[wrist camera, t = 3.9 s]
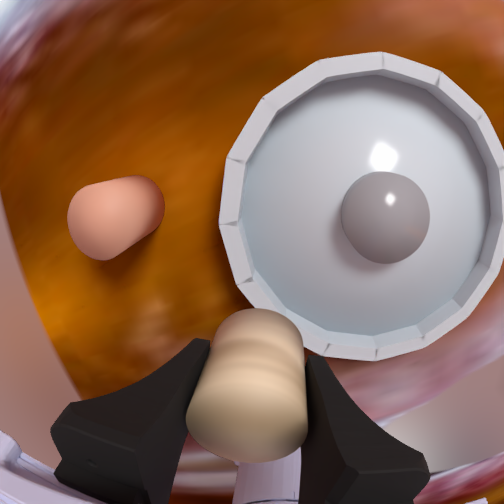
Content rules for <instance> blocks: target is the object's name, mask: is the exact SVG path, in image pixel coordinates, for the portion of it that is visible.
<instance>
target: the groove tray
mask: <svg viewBox="0 0 504 504" xmlns="http://www.w3.org/2000/svg"><path fill="white" fill-rule="evenodd" d="M227 157H229V158H226V165H225V173H224V181H223V190H222V198H221V206H220V215H219V228H220V231H221V235H222V238H223V242H224V245H225V249H226V252H227V255H228V259H229V262H230V266H231V269H232V272H233V276H234V279H235V282H236V285H237V287H238V288H239V289H240V290H241V292H242V293H243V294H244V295H245V296H246V298H247V299H248V300H249V301H250V303H251V304H252V305H253V306H254V307H255V308H261V309H268V310H272V311H275V312H278V313H280V314H282V315H284V316H285V317H287V318H288V319H290V320H291V321H292V322H293V323H294V324H295V325H296V327H297V328H298V330H299V331H300V333H301V336H302V339H303V346H304V347H306V348H308V349H310V350H311V351H313V352H315V353H317V354H319V355H321V356H322V355H323V356H326V357H335V358H344V359H354V360H366V361H378V360H382V359H386V358H390V357H394V356H397V355H401V354H405V353H408V352H412V351H415V350H418V349H422V348H425V347H427V346H428V345H430V344H431V343H433V342H434V341H436V340H437V339H438V338H440V337H441V336H443V335H444V334H446V333H447V332H448V331H450V330H451V329H453V328H454V327H455V326H457V325H458V324H459V323H461V322H462V321H463V320H465V319H466V318H467V316H469V315H470V314H471V312H472V311H473V310H474V308H475V307H476V306H477V304H478V303H479V301H480V300H481V299H482V297H483V296H484V294H485V293H486V292H487V290H488V289H489V287H490V286H491V284H492V283H493V281H494V280H495V278H496V277H497V275H498V273H499V271H500V268H501V264H502V261H503V258H504V151H503V148H502V146H501V144H500V142H499V139H498V137H497V135H496V133H495V131H494V129H493V127H492V125H491V123H490V121H489V119H488V117H487V115H486V113H485V112H484V110H483V109H482V108H481V107H480V106H479V105H478V104H477V103H476V102H475V101H473V100H472V99H471V98H470V97H469V96H468V95H467V94H466V93H465V92H464V91H463V90H462V89H461V88H460V87H458V86H457V85H456V84H455V83H454V82H453V81H452V80H451V79H449V78H448V77H447V76H446V75H445V74H444V73H442V72H440V71H439V70H436V69H434V68H431V67H428V66H426V65H423V64H420V63H417V62H414V61H411V60H408V59H405V58H402V57H398V56H395V55H392V54H388V53H385V52H373V53H364V54H356V55H348V56H341V57H334V58H328V59H322V60H319V61H316V62H314V63H313V64H311V65H310V66H308V67H307V68H305V69H304V70H302V71H300V72H299V73H297V74H296V75H294V76H293V77H291V78H290V79H288V80H287V81H285V82H284V83H283V84H281V85H280V86H278V87H277V88H275V89H274V90H272V91H271V92H270V93H268V94H267V95H265V96H264V97H263V99H261V100H260V102H259V103H258V105H257V107H256V108H255V110H254V112H253V113H252V115H251V117H250V118H249V120H248V122H247V123H246V125H245V127H244V128H243V130H242V132H241V133H240V135H239V137H238V138H237V140H236V142H235V143H234V145H233V147H232V149H231V150H230V152H229V154H228V156H227Z"/></svg>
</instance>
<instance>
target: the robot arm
mask: <svg viewBox="0 0 504 504" xmlns="http://www.w3.org/2000/svg"><path fill="white" fill-rule="evenodd" d="M209 350H210V341H209V340H204V339H198V338H195V339H194V340H192V341H191V342H190V343H189V344H188V345H187V346H186V347H185V348H184V349H183V350H181V351H180V352H179V353H178V354H177V355H176V356H174V357H173V358H172V359H171V360H170V361H168V362H167V363H166V364H164V365H163V366H162V367H160V368H159V369H157V370H156V371H154V372H153V373H152V374H150V375H148V376H147V377H145V378H143V379H142V380H140V381H138V382H136V383H134V384H132V385H130V386H127V387H125V388H123V389H120V390H118V391H116V392H113V393H110V394H107V395H104V396H100V397H97V398H93V399H88V400H83V401H78V402H71V403H70V404H69V405H68V406H67V407H66V408H65V409H64V410H63V412H62V413H61V415H60V416H59V417H58V418H57V420H56V421H55V423H54V424H53V425H52V427H51V431H50V433H51V436H52V439H53V441H54V443H55V445H56V447H57V449H58V451H59V453H60V455H61V457H62V460H61V462H60V463H59V465H58V467H57V468H56V470H54V469H52V468H50V467H48V466H47V465H45V464H43V463H41V462H39V461H37V460H35V459H34V458H32V457H30V456H28V455H27V454H25V453H23V452H22V450H21V448H20V446H19V444H18V443H17V442H16V441H15V440H14V439H13V438H12V437H11V436H9V435H8V434H6V433H5V432H3V431H1V430H0V504H168V502H169V497H170V493H171V489H172V485H173V481H174V477H175V474H176V470H177V466H178V462H179V459H180V455H181V452H182V448H183V445H184V442H185V439H186V436H187V434H188V432H189V430H188V428H187V425H186V413H187V410H188V407H189V405H190V402H191V399H192V396H193V394H194V391H195V388H196V386H197V383H198V380H199V377H200V375H201V372H202V369H203V367H204V364H205V361H206V358H207V356H208V353H209ZM305 378H306V396H307V417H308V433H307V437H306V439H305V441H304V443H303V444H302V445H301V446H300V447H299V448H298V449H297V450H296V451H295V452H293V453H292V454H290V455H288V456H286V457H284V458H281V459H278V460H275V461H270V462H263V463H245V462H237V461H234V464H235V465H237V466H239V467H238V473H237V479H236V485H235V491H234V496H233V502H232V504H414V503H413V499H414V498H415V497H416V496H417V495H418V494H419V493H420V492H421V490H422V489H423V488H424V487H425V486H426V484H427V483H428V482H429V480H430V472H429V469H428V466H427V462H426V460H425V458H424V455H423V453H421V452H419V451H417V450H414V449H413V448H411V447H409V446H407V445H405V444H403V443H402V442H400V441H399V440H397V439H396V438H394V437H392V436H391V435H389V434H388V433H387V432H385V431H384V430H383V429H382V428H380V427H379V426H378V425H377V424H376V423H374V422H373V421H372V420H371V419H370V418H369V417H368V416H367V415H366V414H365V413H364V412H363V411H362V410H361V409H360V408H359V407H358V406H357V405H356V404H355V403H354V401H353V400H352V399H351V398H350V396H349V395H348V394H347V392H346V391H345V390H344V388H343V387H342V385H341V384H340V383H339V381H338V380H337V378H336V377H335V375H334V373H333V372H332V370H331V369H330V367H329V365H328V364H327V362H326V360H325V359H324V357H323V356H314V355H308V358H307V362H306V366H305ZM465 504H488V503H487V501H486V498H482V499H478V500H475V501H472V502H468V503H465Z"/></svg>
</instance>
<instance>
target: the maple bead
mask: <svg viewBox="0 0 504 504" xmlns="http://www.w3.org/2000/svg"><path fill="white" fill-rule="evenodd" d="M186 425H187V428H188V430H189V432H190V434H191V436H192V437H193V438H194V439H195V441H196V442H197V443H198V444H200V445H201V446H202V447H203V448H205V449H206V450H208V451H210V452H211V453H213V454H215V455H217V456H220V457H222V458H225V459H229V460H232V461H237V462H245V463H263V462H270V461H275V460H278V459H281V458H284V457H286V456H288V455H290V454H292V453H293V452H295V451H296V450H297V449H298V448H299V447H300V446H301V445H302V444H303V443H304V441H305V439H306V437H307V433H308V417H307V396H306V378H305V362H304V347H303V339H302V336H301V333H300V331H299V330H298V328H297V327H296V325H295V324H294V323H293V322H292V321H291V320H290V319H288V318H287V317H285V316H284V315H282V314H280V313H278V312H275V311H272V310H268V309H261V308H251V309H245V310H241V311H238V312H236V313H234V314H232V315H230V316H229V317H227V318H226V319H225V320H224V321H223V322H222V323H221V324H220V326H219V327H218V329H217V331H216V334H215V337H214V340H213V342H212V345H211V348H210V350H209V353H208V356H207V358H206V361H205V364H204V367H203V369H202V372H201V375H200V377H199V380H198V383H197V386H196V388H195V391H194V394H193V396H192V399H191V402H190V405H189V407H188V410H187V413H186Z"/></svg>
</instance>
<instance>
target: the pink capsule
mask: <svg viewBox="0 0 504 504" xmlns="http://www.w3.org/2000/svg"><path fill="white" fill-rule="evenodd" d="M164 210H165V204H164V198H163V195H162V193H161V191H160V189H159V188H158V186H157V185H156V184H155V183H154V182H153V181H152V180H150V179H149V178H147V177H144V176H140V175H133V176H128V177H123V178H119V179H114V180H110V181H105V182H101V183H97V184H93V185H89V186H86V187H84V188H82V189H81V190H79V191H78V192H77V193H76V194H75V196H74V197H73V199H72V201H71V203H70V205H69V209H68V227H69V231H70V234H71V237H72V239H73V241H74V242H75V244H76V245H77V247H78V248H79V249H80V250H81V251H82V252H83V253H84V254H86V255H87V256H89V257H91V258H93V259H97V260H108V259H112V258H114V257H116V256H117V255H119V254H120V253H122V252H123V251H124V250H126V249H127V248H129V247H130V246H132V245H133V244H135V243H136V242H138V241H139V240H141V239H142V238H144V237H145V236H147V235H148V234H150V233H151V232H153V231H154V230H155V229H156V228H157V227H158V226H159V225H160V223H161V221H162V219H163V216H164Z"/></svg>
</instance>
